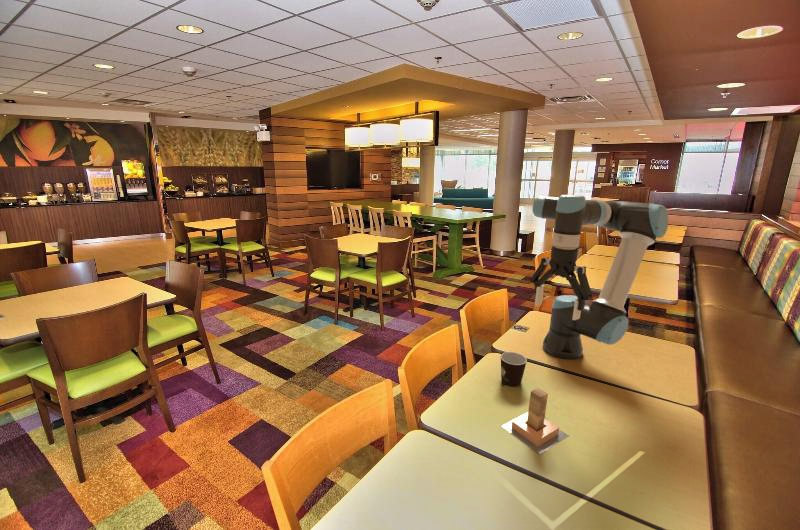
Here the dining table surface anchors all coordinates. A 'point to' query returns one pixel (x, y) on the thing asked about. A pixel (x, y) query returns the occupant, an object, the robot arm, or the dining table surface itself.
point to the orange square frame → (532, 435)
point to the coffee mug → (512, 368)
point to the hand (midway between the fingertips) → (556, 311)
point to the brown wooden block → (537, 409)
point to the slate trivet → (539, 449)
